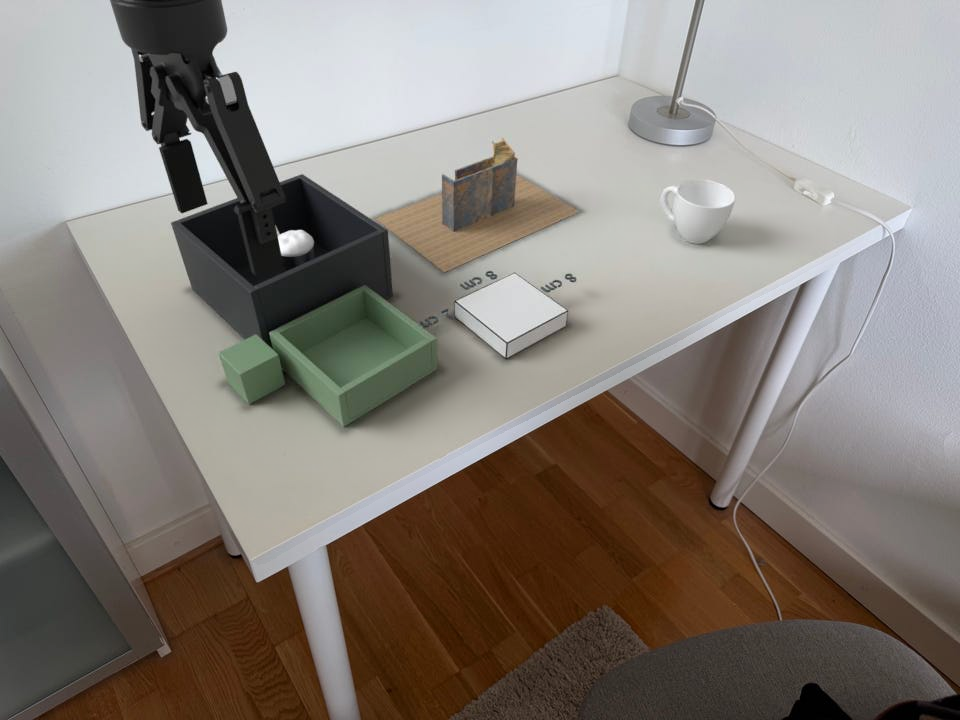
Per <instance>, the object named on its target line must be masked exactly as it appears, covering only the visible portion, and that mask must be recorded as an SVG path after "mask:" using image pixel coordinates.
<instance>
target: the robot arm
mask: <svg viewBox="0 0 960 720" xmlns="http://www.w3.org/2000/svg"><path fill="white" fill-rule="evenodd" d="M109 2H110V6H111V8H112V12H113V15H114V19H115V21H116V25H117V27H118V31H119V35H120V38H121V40H122V41H123V43H124V45H126V46H127V47H128V48H129V49H130V50H131V54H132V57H133V62H134V70H135V72H134V73H135V80H136V89H137V98H138V99H137V100H138V107H139V108H138V109H139V116H140V117H139V118H140V124H141V126H142V128H143V129H144V130H145V131H146V132H149V131H151V137H152V140H153V141H154V142H155V143H156V145H160V146H159V147H158V150H159V152H160V153H159V154H160V157H161V160H162V162H163V165H164V169H165V173H166V176H167V178H168V182H169V186H170V188H171V192H172V194H173V198H174V201H175V205H176V208H177V211H178V212H179V213H180V214H184V213H188V212H190V211H193V210H196V209H199V208H201V207H204V206H206V205H208V204H209V203H208V200H207V197H206V192H205V188H204V185H203V181H202V178H201V175H200V171H199V167H198V164H197V159H196V156H195V152H194V149H193V145H192V141H191V140H189V139H188V138H185V139H181V138H184V137H188V136H191V135H192V132H190V129H189V127H188V126H187V123H188V121H189V122H190V124H191V126H192V128H193V130H195V132H198V133H201V134H202V135H203V136H204V138H205V139H206V141H207V143H208V146H209V148H210V149H211V151H212V153H213V155H214V156H215V158H216V160H217V162H218V164H219V166H220V168H221V170H222V172H223V174H224V175H225V178H226V179H227V181H228V183H229V185H230V187H231V188H232V191H233V192H234V194H235V196H236V198H238V200H239V202H240V204H238V205H236V207H235V208H234V209H233V210H234V211H235V212H236V214H237V215H238V219H239V223H240V227H241V231H242V235H243V239H244V243H245V247H246V252H247V256H248V260H249V264H250V268H251V272H252V273H253V274H255V275H259V274H261V273H263V272H265V271H268V270H270V269H272V268H274V267H277V266H279V265H281V264H283V261H282V256H281V251H280V246H279V241H278V236H277V231H276V226H275V221H274V216H273V211H272V207H274V206H276V205H279V204H281V203H284V202H285V201H286V198H285V194H284V192H283V190H282V187H281V185H280V182H281V181H280V180H279V177H278V175H277V173H276V172H277V171H276V170H275V168H274V164H273V162H272V160H271V158H270V156H269V155H270V154H269V153H268V150H267V148H266V145H265V143H264V141H263V137H262V135H261V133H260V130H259V127H258V126H257V123H256V121H255V118H254V115H253V114H252V113H253V112H252V111H251V108H250V106H249V103H248V99H247V94H246V91H245V87H244V82H243V80H242V77H241V75H240V74H239V72H238V71H232V72H228V73H225V74H223V73H222V72H221V70H220V68H219V66H218V64H217V61H216V59H215V57H214V54H213V52H214V50H215V48H216V47H217V46H218V44H219V43H222V42H223V41H224V40H225V38H226V37H227V34H228V24H227V20H226V16H225V9H224V6H223V1H222V0H109Z"/></svg>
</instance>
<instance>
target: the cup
mask: <svg viewBox="0 0 960 720" xmlns="http://www.w3.org/2000/svg"><path fill="white" fill-rule="evenodd" d="M670 193H672V194H674V199H673V203H672V204H673V205H672V209H671V206H670V204H669V199H668V198H669V194H670ZM735 202H736V195H735V193H734V191H733V190H732V189H730V188H729V187H728V186H726V185H724V184H722V183H720V182H717V181H714V180H710V179H702V178H701V179H700V178H696V179H695V178H694V179H688V180H686V181H682V182H680V183H679V184H678V185H677V186H676V185H668V186H667V187H665V188H664V189H663V191H662V193H661V195H660V205H661V208H662V211H663V213H664V214H665V216H666V218H668V220H669V221H671V222H672V223H674V226H675V229H676V231H677V234H678V235H679V237H680V239H682V240H683V241H685V242H686V243H689V244H695V245H701V244H705V243H708V242H709V241H710V240H711V239H713V238H714V237H715V236H716V235H717V234H718V233H719V232H721V230H722V229H723V228H724V226H725V225H726V224H727V221H728V220H729V218H730V216H731V213H732V211H733V208H734V205H735Z"/></svg>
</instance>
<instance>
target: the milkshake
mask: <svg viewBox="0 0 960 720" xmlns="http://www.w3.org/2000/svg"><path fill="white" fill-rule="evenodd" d="M275 226H276V225H275ZM276 231H277V236H278V241H279V246H280V251H281V256H282V261H283V264H281V265H279V268H280V270H281V273H284V272H286V271H289V270H291V269H293V268H295V267H297V266H300V265H302V264H304V263H306V262H309V261H311V260H313V259H314V240H313V238H312V237H311V236H310V235H309V234H307V233H306V232H305V231H303V230H296V231H295V230H290V231H287V232H285V233H282V234H280V233H279V231H278V229H277V227H276Z"/></svg>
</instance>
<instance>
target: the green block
mask: <svg viewBox="0 0 960 720" xmlns="http://www.w3.org/2000/svg"><path fill="white" fill-rule="evenodd" d="M218 356H219V360H220V363H221V366H222V368H223V369H222V370H223V372H224V374H225V375H224V376H225V378H226V381H227V384H228V385H229V386H230V387H231V388H232V389H233V390H234V391H235V392H236V393H237V394H238V395H239V396H240V397H241V398H242V399H243V401H245V403H247V405H251V404H253V403H255V402H257V401H259V400H261V399H262V398H264V397H266V396H268V395H270V394H271V393H273V392H275V391H277V390H279V389H281V388H282V387H284V386H286V382H285V381H286V380H285V376H284V373H283V372H284V371H283V369H282V368H281V364H280V359H279V355H278V354H277V353H276V352H275V351H274V350H273V349H272V348H271V347H269V346H268V345H267V344H266V343H265V342H264V341H263V340H262V339H261V338H260V337H259V336H258V335H257V334H255V335H253V336H251V337H249V338H247V339H243V340H241V341H239V342H238V343H235V344H233V345H231V346H229V347H227V348H225V349H223V350H221V351H219V352H218Z"/></svg>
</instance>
